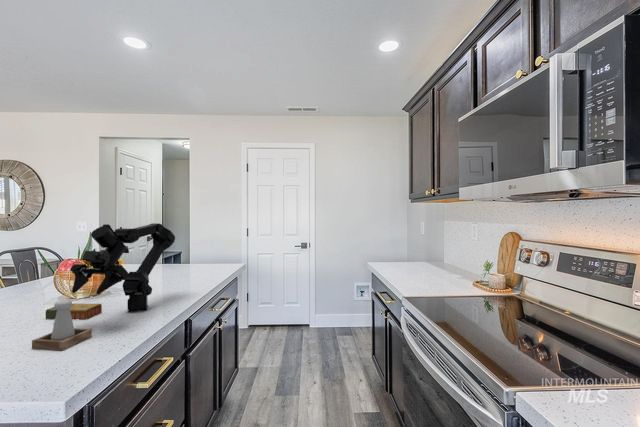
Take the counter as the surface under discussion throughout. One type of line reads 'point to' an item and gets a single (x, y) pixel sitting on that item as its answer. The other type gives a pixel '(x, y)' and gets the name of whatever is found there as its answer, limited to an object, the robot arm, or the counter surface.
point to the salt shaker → (63, 321)
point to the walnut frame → (57, 345)
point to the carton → (78, 311)
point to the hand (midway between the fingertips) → (85, 293)
